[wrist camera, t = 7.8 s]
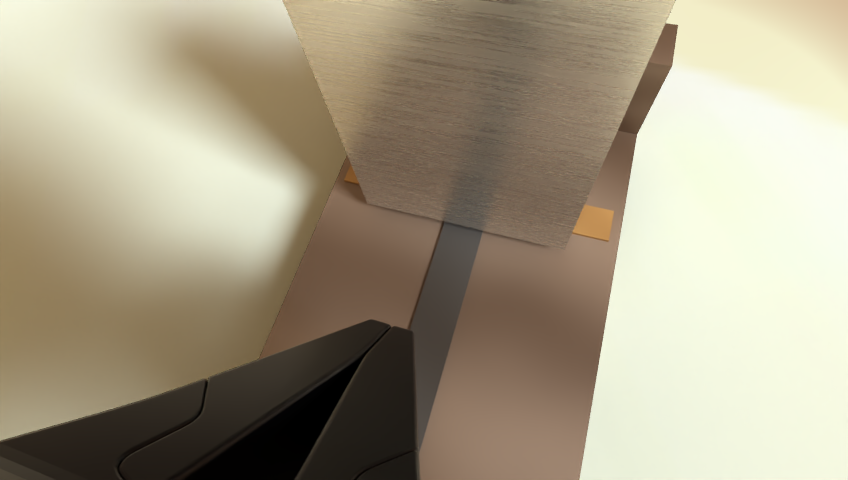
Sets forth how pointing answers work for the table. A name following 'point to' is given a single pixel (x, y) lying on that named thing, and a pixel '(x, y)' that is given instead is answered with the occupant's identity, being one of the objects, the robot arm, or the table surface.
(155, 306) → the table surface
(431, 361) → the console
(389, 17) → the fader tab
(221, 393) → the robot arm
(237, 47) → the table surface
